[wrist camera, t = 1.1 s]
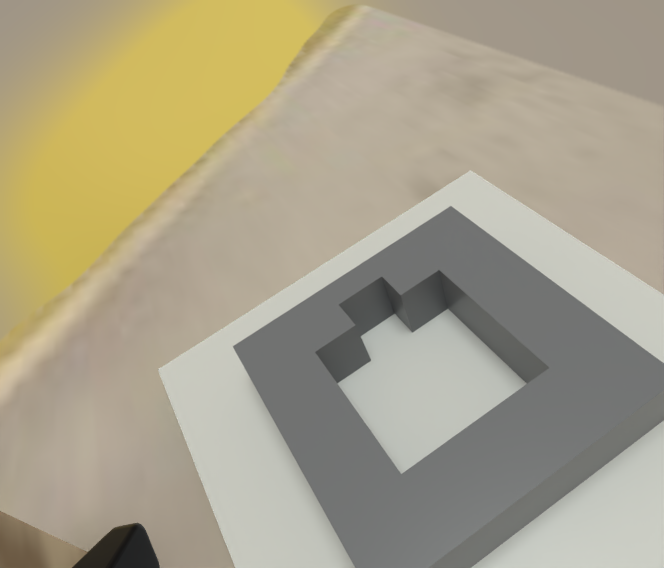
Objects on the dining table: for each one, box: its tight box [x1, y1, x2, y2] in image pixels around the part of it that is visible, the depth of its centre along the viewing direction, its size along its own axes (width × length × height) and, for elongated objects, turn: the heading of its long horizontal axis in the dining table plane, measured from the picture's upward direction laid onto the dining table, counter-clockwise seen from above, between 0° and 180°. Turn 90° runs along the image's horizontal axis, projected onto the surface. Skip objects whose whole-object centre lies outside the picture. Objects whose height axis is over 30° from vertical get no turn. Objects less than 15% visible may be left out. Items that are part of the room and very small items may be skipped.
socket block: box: [158, 170, 664, 568], centre depth 24 cm, size 22×22×4 cm
